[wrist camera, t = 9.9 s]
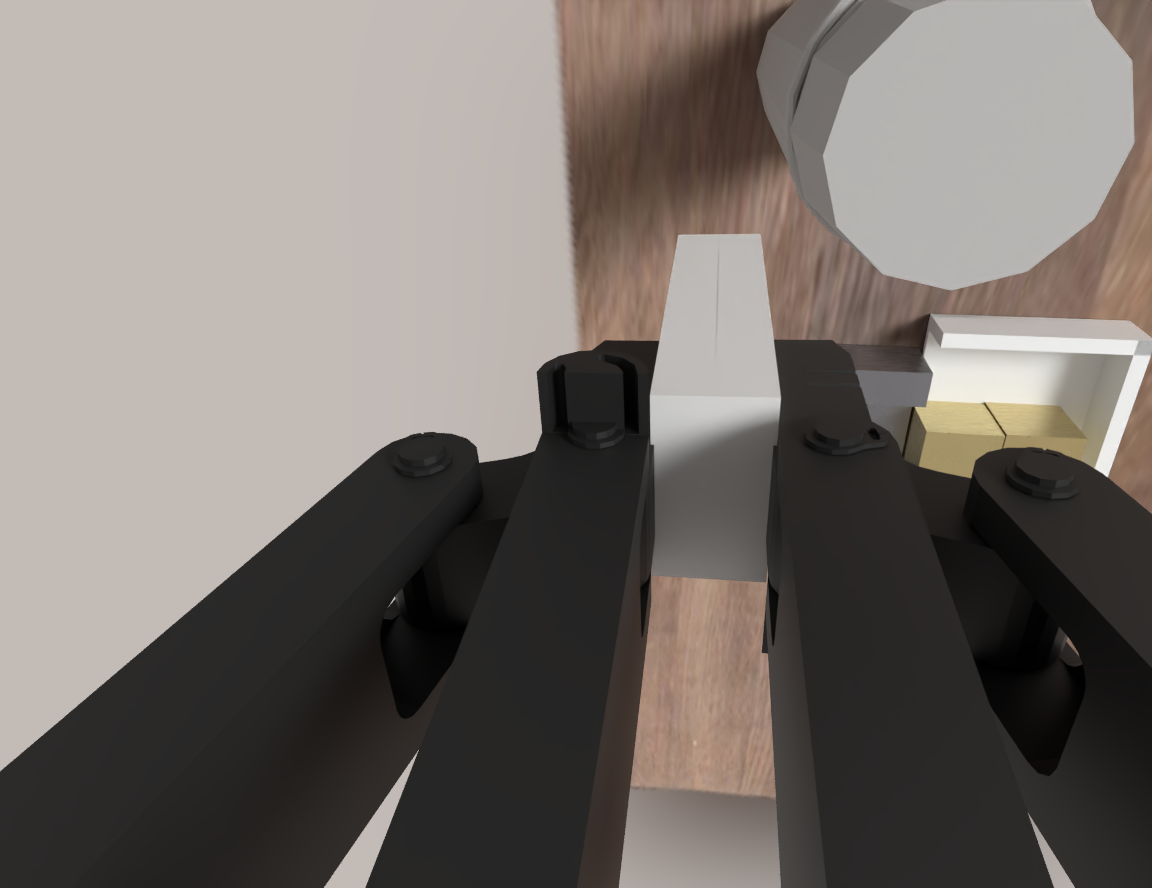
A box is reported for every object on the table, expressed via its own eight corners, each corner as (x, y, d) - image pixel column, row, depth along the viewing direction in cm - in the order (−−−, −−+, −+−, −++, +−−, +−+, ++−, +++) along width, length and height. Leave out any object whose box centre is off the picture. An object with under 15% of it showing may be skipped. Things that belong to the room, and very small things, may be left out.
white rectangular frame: (930, 313, 44) (943, 333, 42) (1129, 320, 43) (1155, 341, 40) (887, 522, 51) (896, 550, 49) (1057, 534, 50) (1076, 563, 47)
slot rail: (704, 338, 47) (704, 363, 44) (918, 347, 45) (933, 373, 42) (695, 483, 52) (693, 514, 49) (887, 495, 50) (899, 529, 47)
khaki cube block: (984, 402, 46) (1006, 434, 43) (1059, 405, 45) (1087, 439, 42) (969, 462, 48) (989, 497, 44) (1040, 466, 47) (1066, 503, 44)
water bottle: (797, 177, 42) (883, 364, 20) (724, 38, 40) (735, 83, 18) (973, 72, 39) (1302, 164, 17) (906, -88, 36) (1193, -221, 14)
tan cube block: (910, 399, 47) (926, 431, 43) (983, 403, 46) (1005, 436, 43) (898, 458, 49) (912, 494, 45) (967, 463, 48) (987, 499, 45)
